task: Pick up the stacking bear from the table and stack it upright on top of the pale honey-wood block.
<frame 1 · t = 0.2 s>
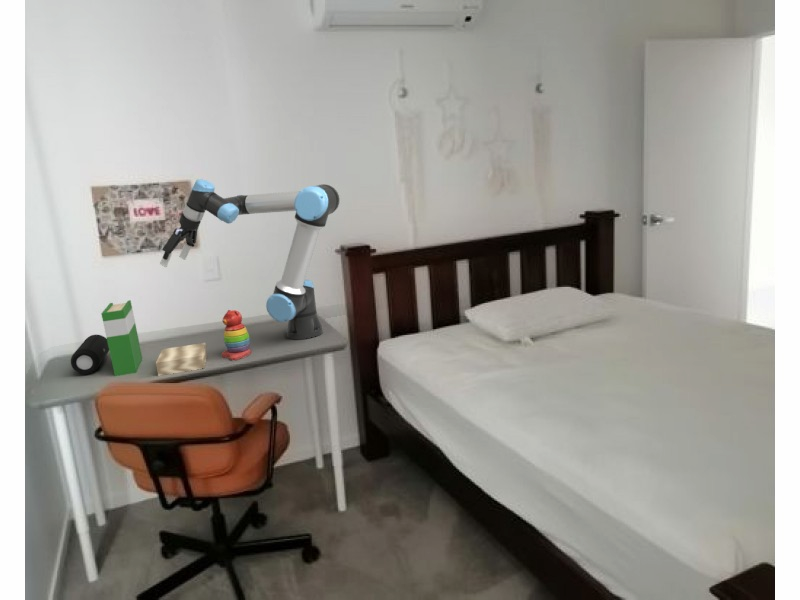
hand: (172, 261, 243), 36 cm above the table, tool tilted 35°, fingers open, 13 cm apart
portable speaker: (93, 366, 236), on the table
wooden block: (184, 364, 226), on the table
hardback book: (129, 367, 230), on the table
stacking bear: (238, 355, 231), on the table
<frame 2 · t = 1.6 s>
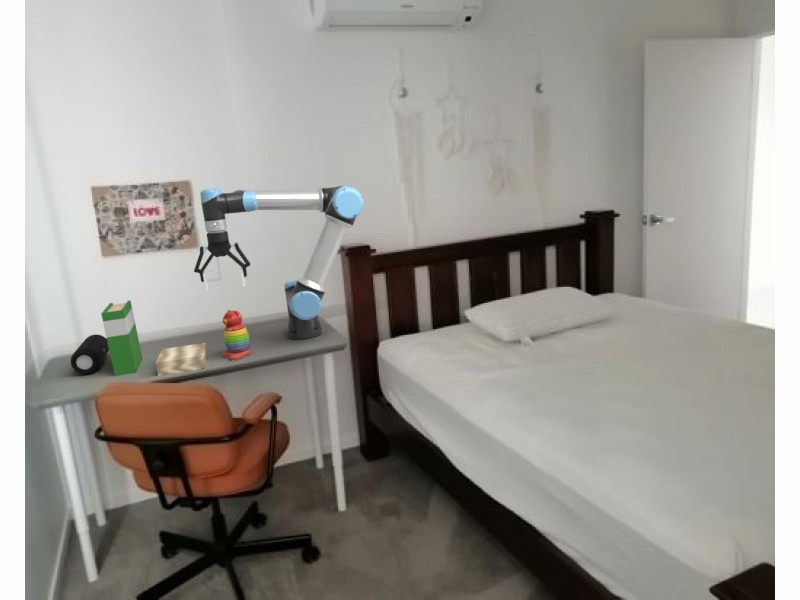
hand: (225, 287, 225), 27 cm above the table, tool pointing down, fingers open, 13 cm apart
nothing on the table moved.
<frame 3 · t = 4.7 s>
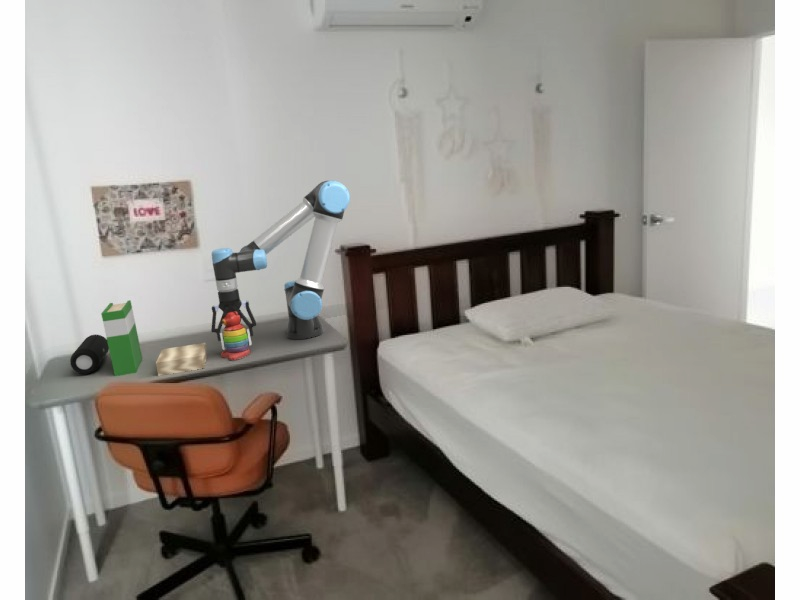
hand: (237, 346, 231), 4 cm above the table, tool pointing down, fingers closed on stacking bear, 9 cm apart
stacking bear: (237, 355, 231), on the table, touching gripper
everything else where it was.
when the fingers open (10 cm above the table, at t = 12.1 s): stacking bear drops 1 cm, resting on wooden block.
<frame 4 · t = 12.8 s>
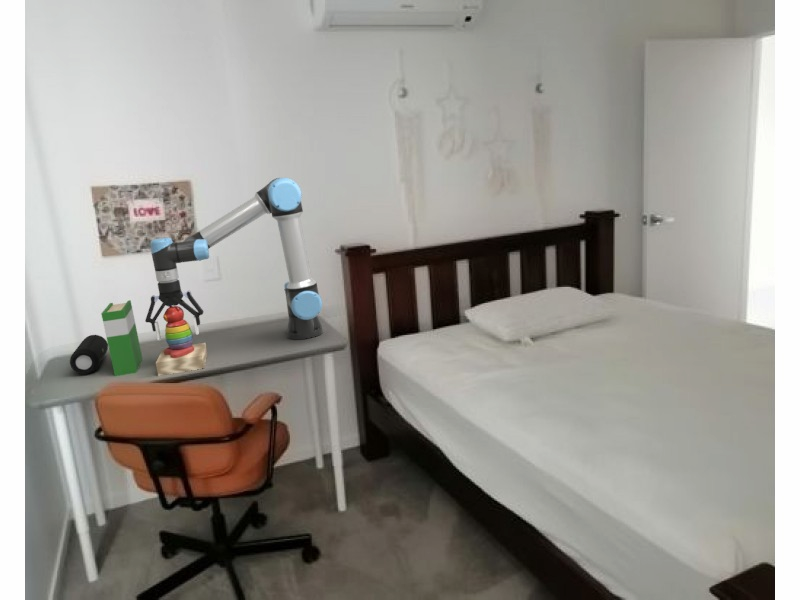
hand: (178, 336, 223), 11 cm above the table, tool pointing down, fingers open, 13 cm apart
stacking bear: (181, 352, 225), point 5 cm above the table, touching wooden block
everything else where it was.
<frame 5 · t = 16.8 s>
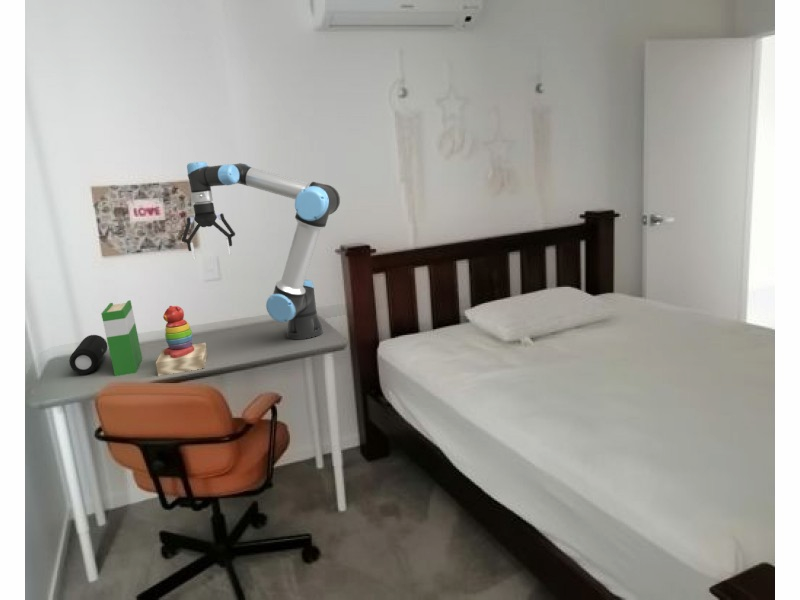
hand: (212, 256, 238), 37 cm above the table, tool pointing down, fingers open, 13 cm apart
nothing on the table moved.
at the end: stacking bear inside the target area on the wooden block (0.2 cm from its centre), point 4.8 cm above the wooden block's base; stacking bear tilted 0°; the gripper is holding nothing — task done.
